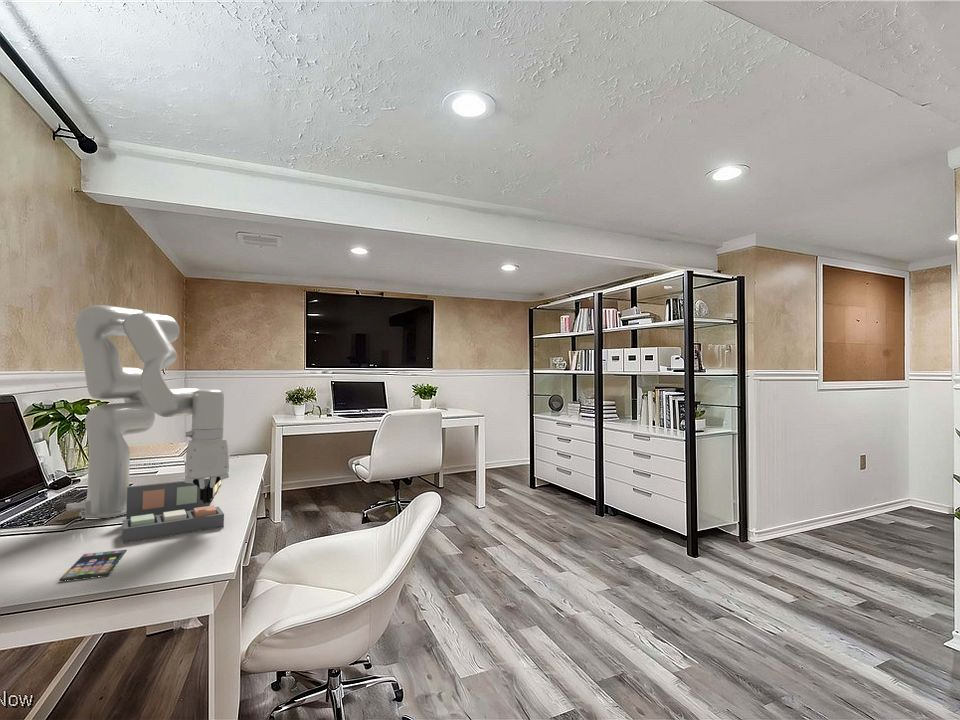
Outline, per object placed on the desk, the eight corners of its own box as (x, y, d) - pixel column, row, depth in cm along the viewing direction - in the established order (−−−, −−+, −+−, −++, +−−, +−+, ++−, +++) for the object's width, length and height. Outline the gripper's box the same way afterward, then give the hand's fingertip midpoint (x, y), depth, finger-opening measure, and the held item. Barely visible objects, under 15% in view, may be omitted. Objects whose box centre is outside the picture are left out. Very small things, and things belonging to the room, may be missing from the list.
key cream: (164, 526, 124) (164, 517, 124) (162, 521, 128) (163, 512, 128) (186, 523, 127) (186, 513, 127) (184, 518, 131) (184, 509, 131)
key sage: (131, 531, 120) (131, 521, 120) (130, 526, 124) (130, 516, 124) (154, 528, 123) (154, 518, 123) (152, 523, 127) (153, 513, 127)
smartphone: (126, 552, 114) (126, 547, 114) (108, 578, 100) (108, 572, 100) (83, 557, 110) (84, 551, 110) (58, 584, 97) (59, 578, 97)
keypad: (122, 543, 118) (124, 502, 118) (121, 522, 133) (122, 486, 133) (223, 526, 131) (224, 490, 131) (212, 509, 146) (213, 476, 146)
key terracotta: (195, 522, 129) (196, 512, 129) (193, 517, 132) (193, 508, 132) (216, 518, 132) (216, 509, 132) (213, 514, 135) (213, 505, 135)
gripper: (177, 438, 125) (175, 510, 124) (240, 434, 134) (239, 501, 134) (174, 435, 131) (172, 503, 130) (234, 431, 140) (233, 495, 140)
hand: (206, 502), depth 132 cm, fingers closed
